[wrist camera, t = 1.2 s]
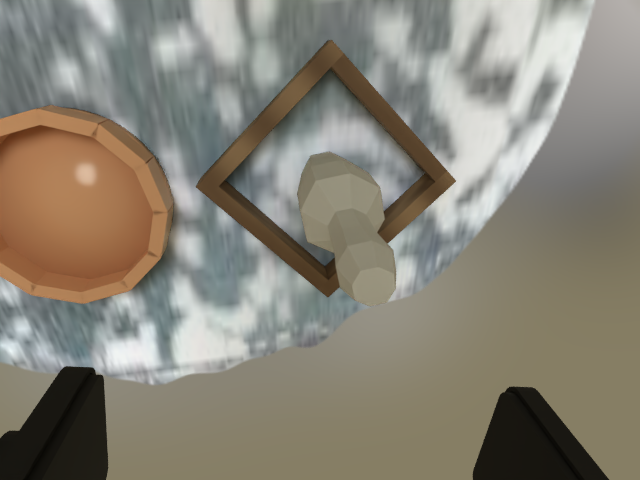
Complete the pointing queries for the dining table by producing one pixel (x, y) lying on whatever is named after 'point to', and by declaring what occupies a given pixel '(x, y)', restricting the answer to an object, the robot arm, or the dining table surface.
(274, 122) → the square wooden frame
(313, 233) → the faceted bottle
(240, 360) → the dining table surface
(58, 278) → the terracotta dish
